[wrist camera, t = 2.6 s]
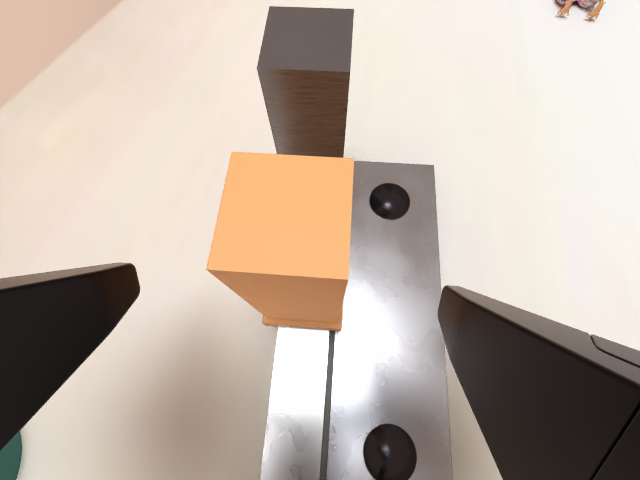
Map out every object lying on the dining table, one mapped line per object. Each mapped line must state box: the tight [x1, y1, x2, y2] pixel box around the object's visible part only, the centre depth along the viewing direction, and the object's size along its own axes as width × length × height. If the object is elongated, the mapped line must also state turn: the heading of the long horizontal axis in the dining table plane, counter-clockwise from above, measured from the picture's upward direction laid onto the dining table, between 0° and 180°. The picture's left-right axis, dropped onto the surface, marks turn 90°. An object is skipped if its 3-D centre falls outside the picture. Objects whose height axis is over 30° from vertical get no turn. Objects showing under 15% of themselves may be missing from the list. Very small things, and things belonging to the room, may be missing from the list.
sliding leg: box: [206, 152, 354, 332], centre depth 13 cm, size 4×4×10 cm
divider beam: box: [257, 6, 354, 480], centre depth 14 cm, size 22×4×12 cm, turn 175°
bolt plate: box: [326, 161, 452, 480], centre depth 18 cm, size 22×6×1 cm, turn 175°
